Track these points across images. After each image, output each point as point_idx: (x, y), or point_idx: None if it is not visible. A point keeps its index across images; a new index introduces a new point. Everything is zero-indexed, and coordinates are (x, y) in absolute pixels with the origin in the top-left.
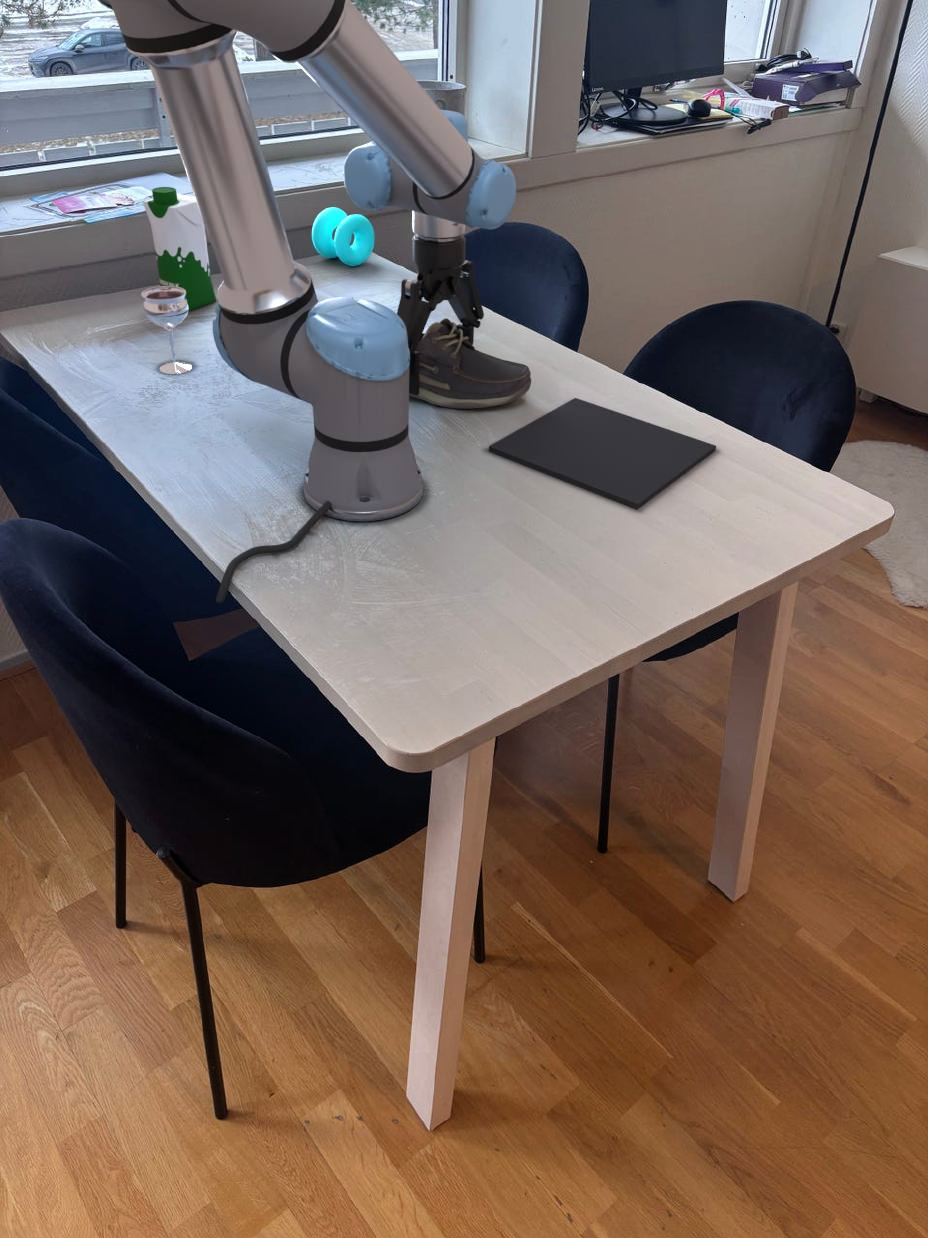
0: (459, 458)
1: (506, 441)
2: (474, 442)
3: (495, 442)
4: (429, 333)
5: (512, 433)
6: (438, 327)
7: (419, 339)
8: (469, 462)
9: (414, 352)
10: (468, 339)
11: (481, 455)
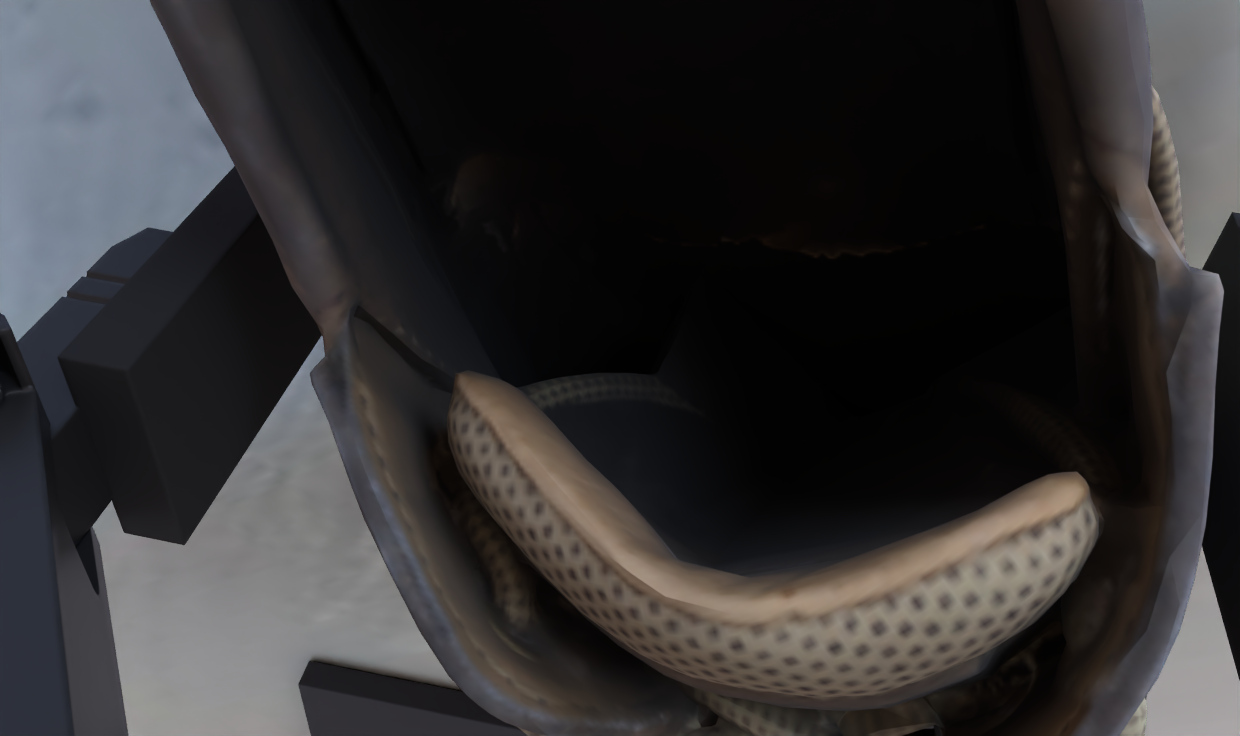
0: (151, 593)
1: (396, 723)
2: (324, 596)
3: (350, 694)
4: (443, 661)
5: (486, 725)
6: (740, 689)
7: (117, 674)
8: (165, 630)
9: (129, 512)
10: (1232, 628)
11: (255, 647)
